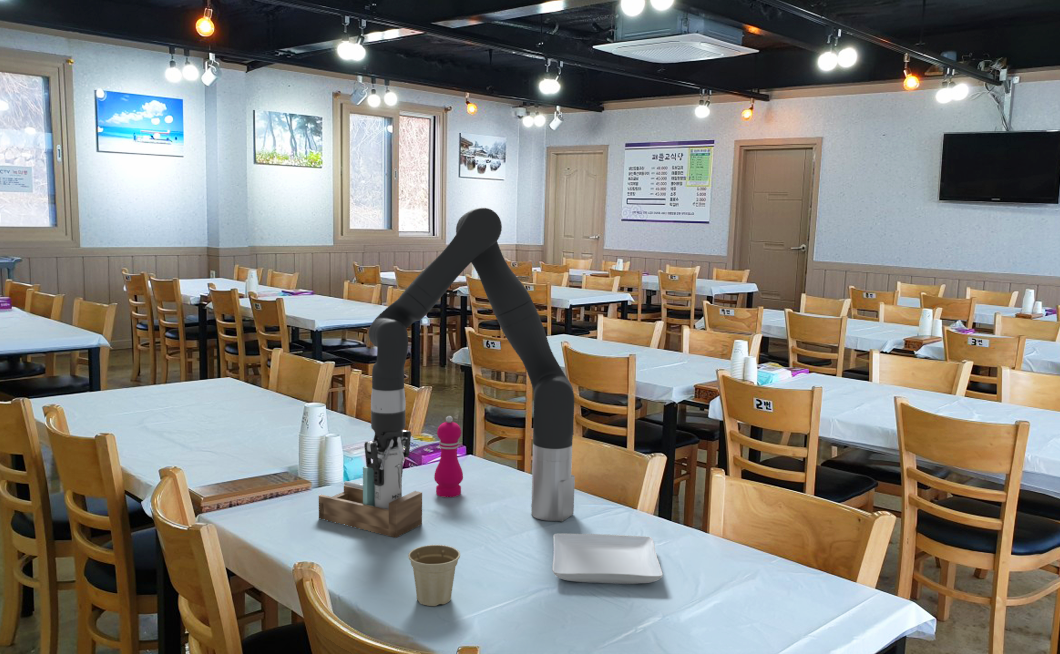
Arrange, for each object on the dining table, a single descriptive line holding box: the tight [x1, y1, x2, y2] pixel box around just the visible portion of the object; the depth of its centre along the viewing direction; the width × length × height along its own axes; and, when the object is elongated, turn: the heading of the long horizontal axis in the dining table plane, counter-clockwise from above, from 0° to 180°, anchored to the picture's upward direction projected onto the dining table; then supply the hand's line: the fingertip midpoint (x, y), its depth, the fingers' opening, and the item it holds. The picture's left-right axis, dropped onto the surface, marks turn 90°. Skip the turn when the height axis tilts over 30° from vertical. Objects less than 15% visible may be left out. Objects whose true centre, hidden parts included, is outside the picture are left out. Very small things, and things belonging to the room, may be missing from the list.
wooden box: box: [318, 484, 423, 539], centre depth 194 cm, size 22×10×8 cm, turn 62°
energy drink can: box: [374, 446, 403, 510], centre depth 191 cm, size 6×6×15 cm
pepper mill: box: [433, 415, 464, 498], centre depth 214 cm, size 7×7×20 cm
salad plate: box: [551, 533, 664, 585], centre depth 173 cm, size 21×21×3 cm
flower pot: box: [408, 544, 461, 607], centre depth 156 cm, size 9×9×9 cm
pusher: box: [343, 465, 375, 507], centre depth 195 cm, size 9×7×12 cm
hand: (388, 481), depth 191 cm, fingers closed on energy drink can, 6 cm apart
